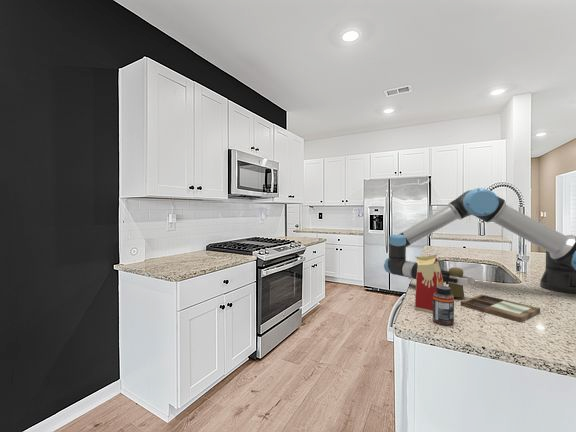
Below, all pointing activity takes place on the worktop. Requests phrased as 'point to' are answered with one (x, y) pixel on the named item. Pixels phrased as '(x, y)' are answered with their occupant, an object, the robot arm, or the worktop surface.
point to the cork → (455, 288)
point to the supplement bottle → (443, 306)
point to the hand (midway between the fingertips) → (470, 281)
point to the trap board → (501, 307)
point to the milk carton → (427, 282)
